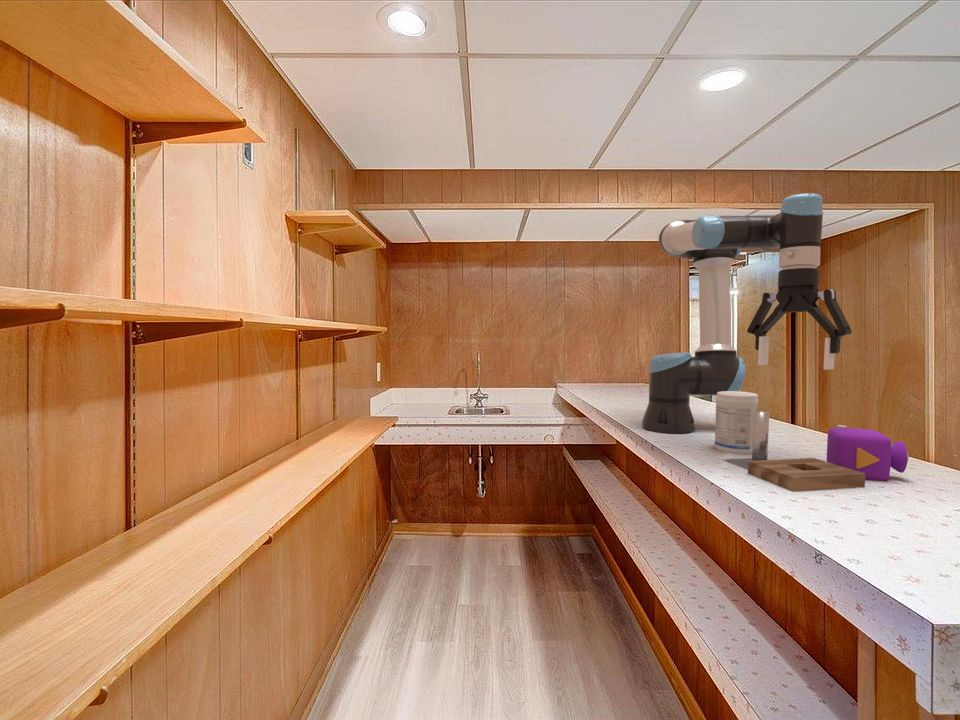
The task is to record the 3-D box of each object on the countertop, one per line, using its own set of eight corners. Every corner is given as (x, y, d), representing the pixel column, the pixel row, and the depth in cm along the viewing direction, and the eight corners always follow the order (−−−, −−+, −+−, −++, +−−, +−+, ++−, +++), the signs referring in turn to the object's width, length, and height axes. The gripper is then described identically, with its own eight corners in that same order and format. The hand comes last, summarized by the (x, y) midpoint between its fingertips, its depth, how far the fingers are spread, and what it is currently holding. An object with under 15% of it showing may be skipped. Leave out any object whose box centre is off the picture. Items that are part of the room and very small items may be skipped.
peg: (748, 463, 114) (750, 411, 113) (760, 463, 114) (762, 410, 113) (758, 467, 111) (760, 413, 110) (770, 466, 111) (772, 412, 111)
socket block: (747, 475, 106) (748, 461, 106) (812, 471, 109) (813, 457, 109) (793, 493, 94) (794, 477, 94) (864, 488, 98) (865, 473, 97)
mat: (721, 461, 117) (721, 459, 117) (759, 459, 119) (759, 457, 119) (759, 476, 106) (759, 474, 106) (800, 473, 108) (800, 471, 108)
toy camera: (919, 486, 100) (922, 436, 99) (841, 481, 102) (844, 432, 102) (887, 471, 110) (889, 425, 110) (817, 467, 113) (819, 423, 112)
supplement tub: (728, 445, 134) (730, 389, 133) (764, 452, 126) (767, 394, 125) (706, 449, 129) (708, 392, 128) (742, 457, 121) (744, 396, 120)
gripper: (733, 272, 117) (729, 363, 119) (858, 261, 96) (851, 372, 98) (751, 274, 121) (748, 362, 123) (875, 264, 100) (869, 370, 102)
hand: (794, 367), depth 110 cm, fingers open, 13 cm apart
